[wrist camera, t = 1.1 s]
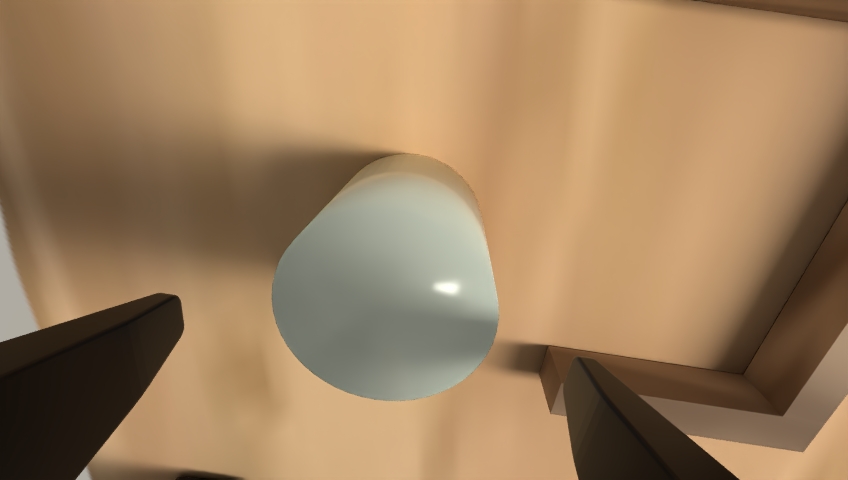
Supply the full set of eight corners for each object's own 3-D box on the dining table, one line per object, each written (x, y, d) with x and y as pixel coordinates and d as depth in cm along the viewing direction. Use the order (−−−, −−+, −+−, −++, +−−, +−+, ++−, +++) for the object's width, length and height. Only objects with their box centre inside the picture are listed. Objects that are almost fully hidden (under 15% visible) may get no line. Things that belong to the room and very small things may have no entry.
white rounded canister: (467, 298, 16) (475, 414, 11) (334, 278, 16) (274, 384, 11) (495, 165, 14) (522, 227, 8) (340, 143, 14) (268, 189, 8)
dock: (762, 407, 17) (803, 452, 15) (539, 374, 17) (550, 413, 15) (1042, -21, 11) (1179, -43, 9) (683, -71, 11) (735, -103, 9)
